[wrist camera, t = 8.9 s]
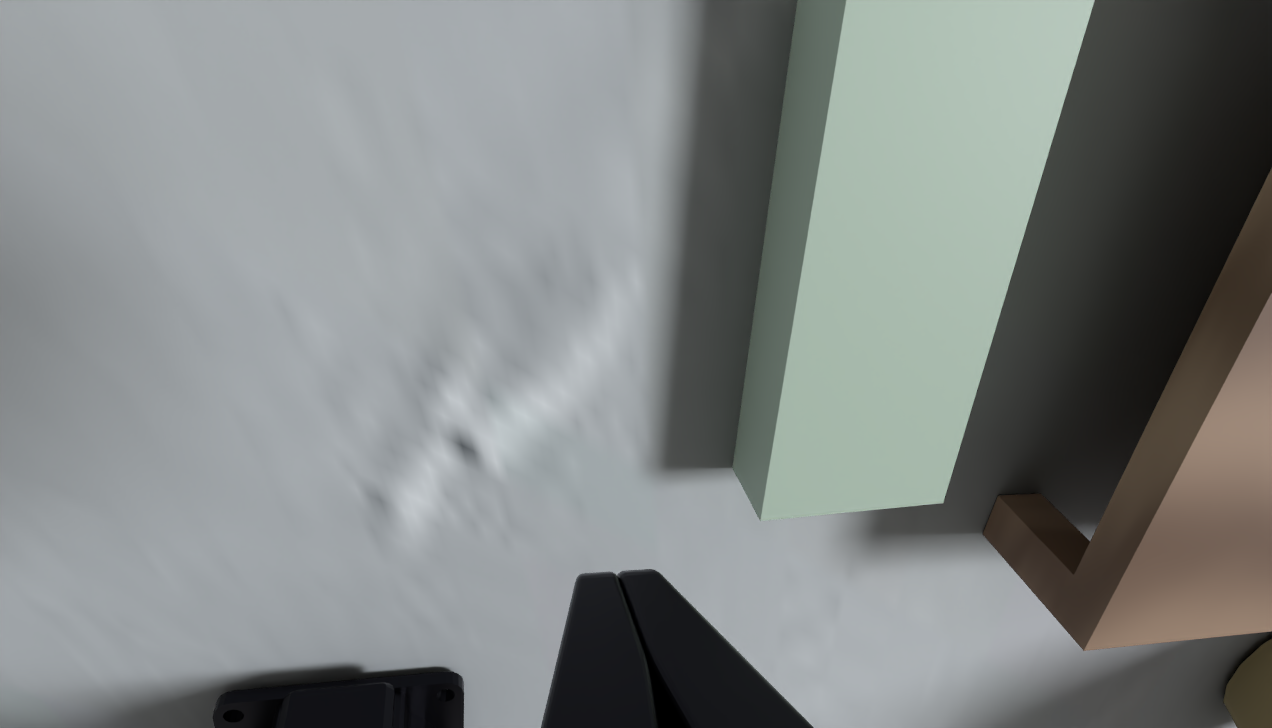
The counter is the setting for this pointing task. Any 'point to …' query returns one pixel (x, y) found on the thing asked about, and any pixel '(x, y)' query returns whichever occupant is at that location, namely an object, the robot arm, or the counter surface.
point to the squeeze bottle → (1252, 690)
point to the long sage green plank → (893, 240)
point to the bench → (1176, 489)
